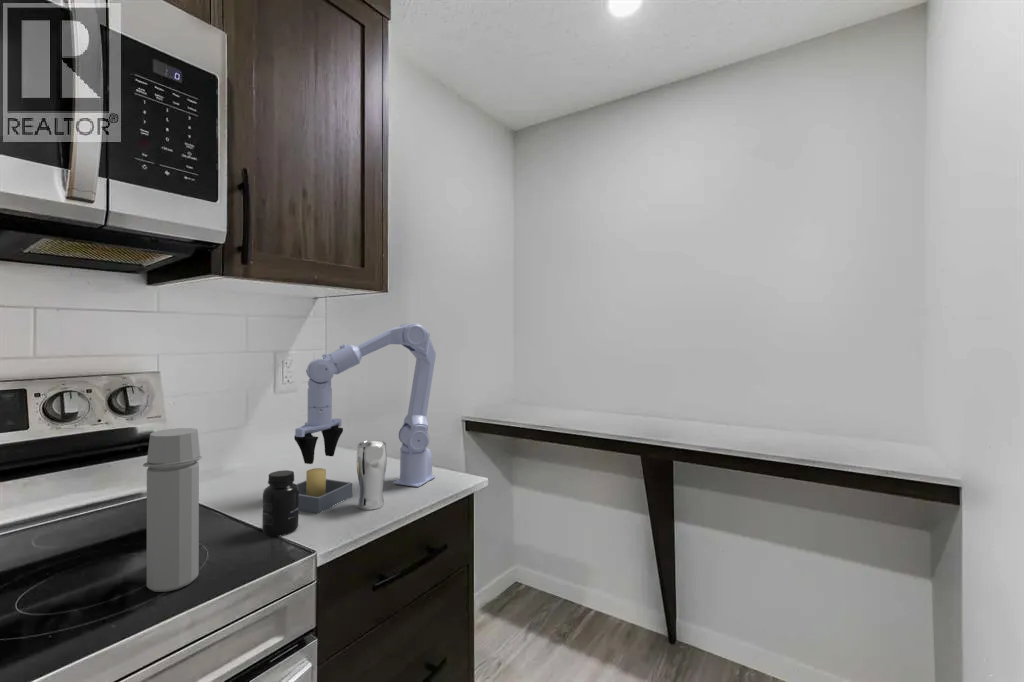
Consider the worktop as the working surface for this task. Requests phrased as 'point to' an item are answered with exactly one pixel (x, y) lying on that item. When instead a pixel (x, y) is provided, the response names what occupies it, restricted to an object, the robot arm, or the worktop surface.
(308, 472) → the peg
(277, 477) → the supplement bottle
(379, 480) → the beer glass
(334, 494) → the bin
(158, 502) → the water bottle
